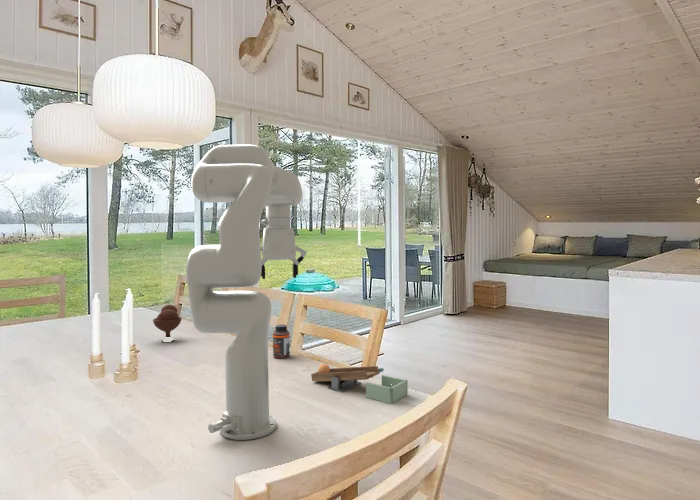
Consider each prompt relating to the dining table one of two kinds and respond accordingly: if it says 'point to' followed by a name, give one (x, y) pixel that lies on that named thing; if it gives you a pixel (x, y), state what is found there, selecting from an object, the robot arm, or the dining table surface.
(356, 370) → the lever
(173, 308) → the ice cream bowl
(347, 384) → the fulcrum
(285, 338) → the supplement bottle
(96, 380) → the dining table surface
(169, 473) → the dining table surface
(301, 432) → the dining table surface
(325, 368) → the ball
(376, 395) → the tray
